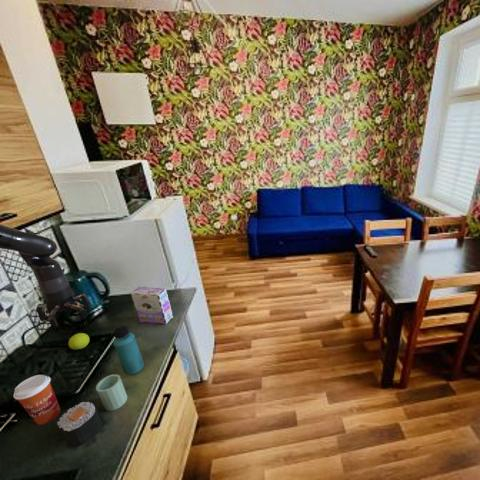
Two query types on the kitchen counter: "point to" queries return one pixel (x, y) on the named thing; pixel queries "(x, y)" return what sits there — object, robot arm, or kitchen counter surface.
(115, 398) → the ceramic cup
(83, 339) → the ball
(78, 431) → the sushi
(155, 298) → the candy box
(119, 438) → the kitchen counter surface
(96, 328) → the kitchen counter surface
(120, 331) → the beverage bottle
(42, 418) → the paper cup
